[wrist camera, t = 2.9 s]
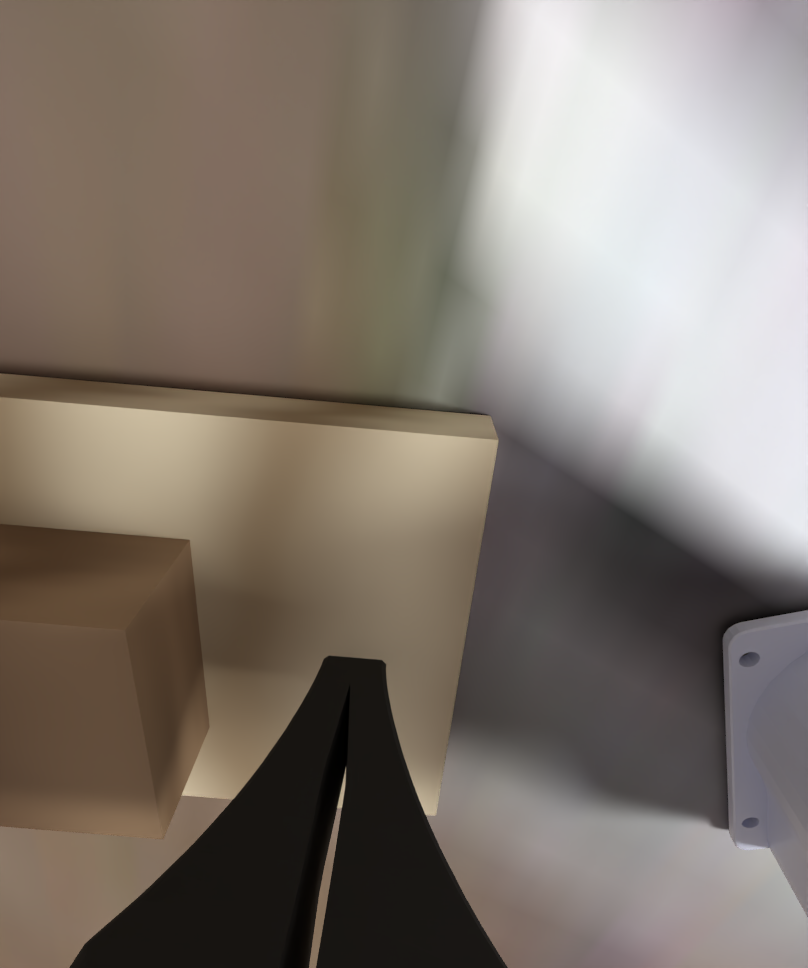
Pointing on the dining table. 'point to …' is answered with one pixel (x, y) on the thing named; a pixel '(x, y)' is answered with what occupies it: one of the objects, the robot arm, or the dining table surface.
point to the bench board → (275, 540)
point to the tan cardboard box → (97, 680)
